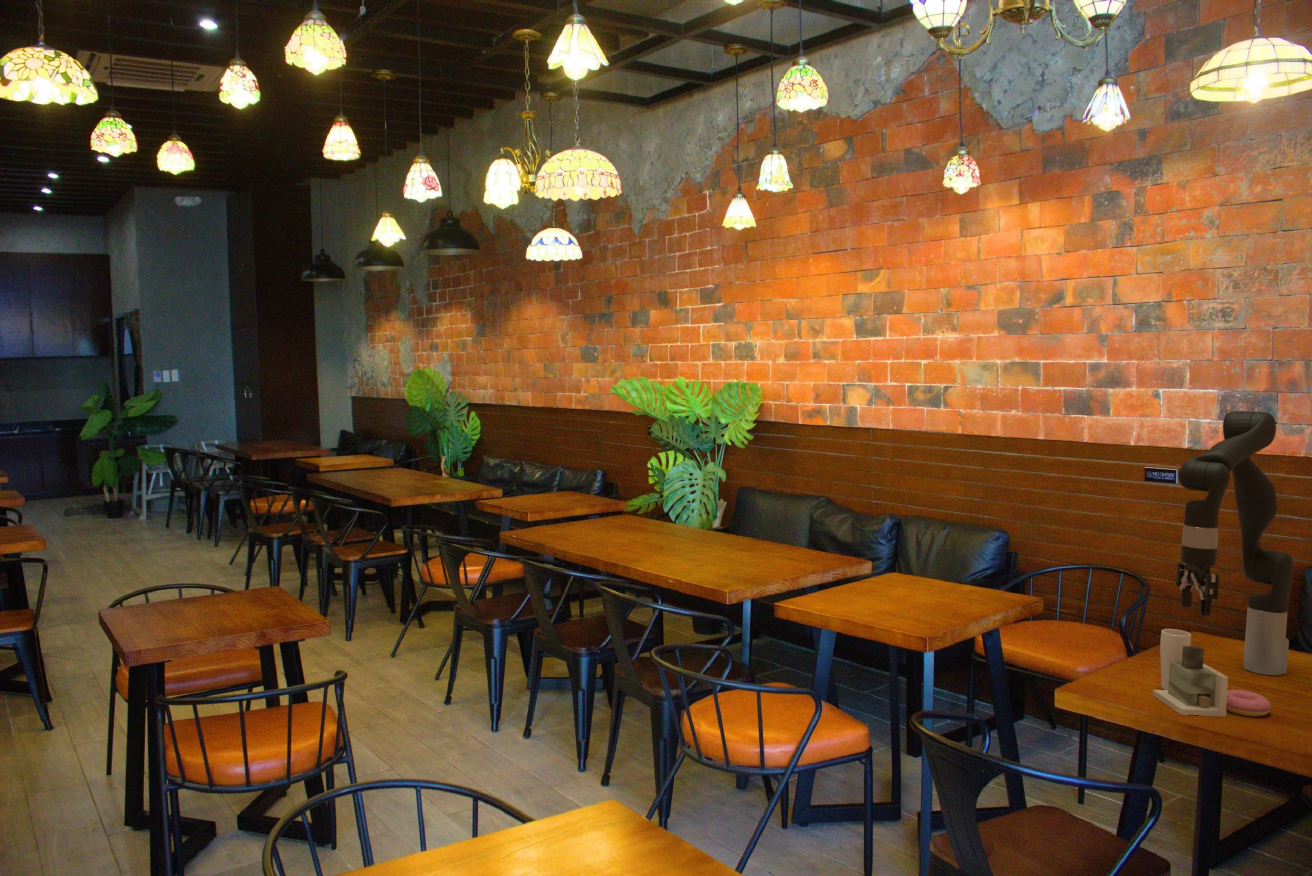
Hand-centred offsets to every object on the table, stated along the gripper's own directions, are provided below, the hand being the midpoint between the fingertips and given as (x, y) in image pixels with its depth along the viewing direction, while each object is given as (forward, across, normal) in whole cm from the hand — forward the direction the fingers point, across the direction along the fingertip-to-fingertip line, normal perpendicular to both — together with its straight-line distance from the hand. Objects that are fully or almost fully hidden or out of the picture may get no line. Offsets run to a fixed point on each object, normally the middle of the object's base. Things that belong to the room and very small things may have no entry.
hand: (1195, 610), depth 232 cm
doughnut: (+24, -2, -12) cm, 27 cm away
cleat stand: (+24, 0, -1) cm, 24 cm away
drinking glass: (+24, +12, -2) cm, 27 cm away
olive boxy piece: (+22, 0, 0) cm, 22 cm away
